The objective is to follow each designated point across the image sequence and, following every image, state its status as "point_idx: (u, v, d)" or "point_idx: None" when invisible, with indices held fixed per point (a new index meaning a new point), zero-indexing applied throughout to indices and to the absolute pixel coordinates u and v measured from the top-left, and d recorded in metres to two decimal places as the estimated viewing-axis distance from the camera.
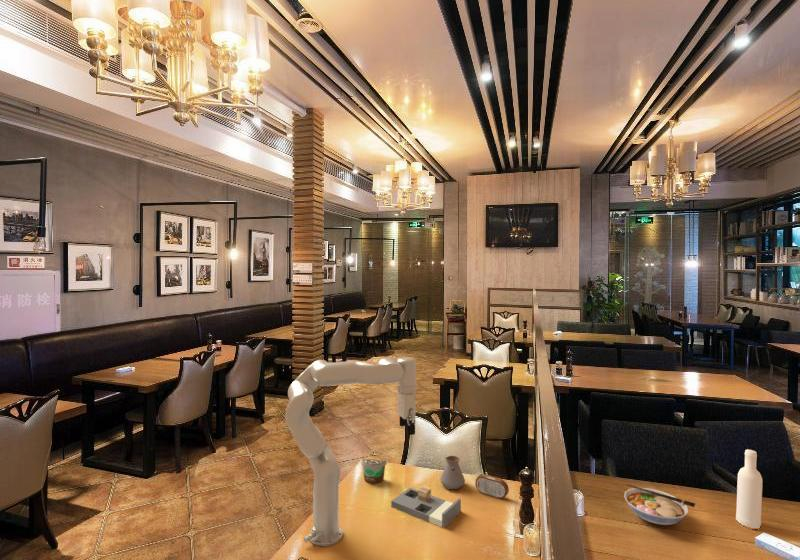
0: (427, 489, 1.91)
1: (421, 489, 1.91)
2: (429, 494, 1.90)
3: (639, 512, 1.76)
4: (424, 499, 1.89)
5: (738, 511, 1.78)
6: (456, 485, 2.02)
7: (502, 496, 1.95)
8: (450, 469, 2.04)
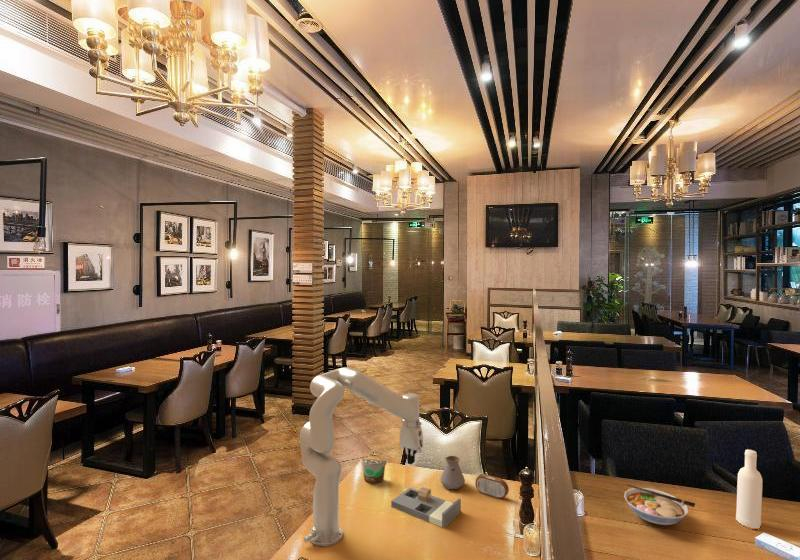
0: (427, 489, 1.91)
1: (421, 489, 1.91)
2: (429, 494, 1.90)
3: (639, 512, 1.76)
4: (424, 499, 1.89)
5: (738, 511, 1.78)
6: (456, 485, 2.02)
7: (502, 496, 1.95)
8: (450, 469, 2.04)
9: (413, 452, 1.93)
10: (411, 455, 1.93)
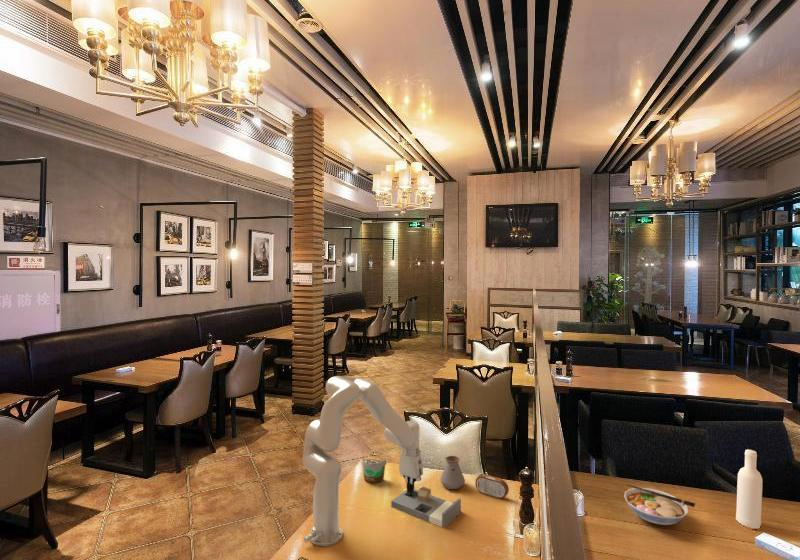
0: (427, 489, 1.91)
1: (421, 489, 1.91)
2: (429, 494, 1.90)
3: (639, 512, 1.76)
4: (424, 499, 1.89)
5: (738, 511, 1.78)
6: (456, 485, 2.02)
7: (502, 496, 1.95)
8: (450, 469, 2.04)
9: (413, 480, 1.93)
10: (410, 483, 1.94)
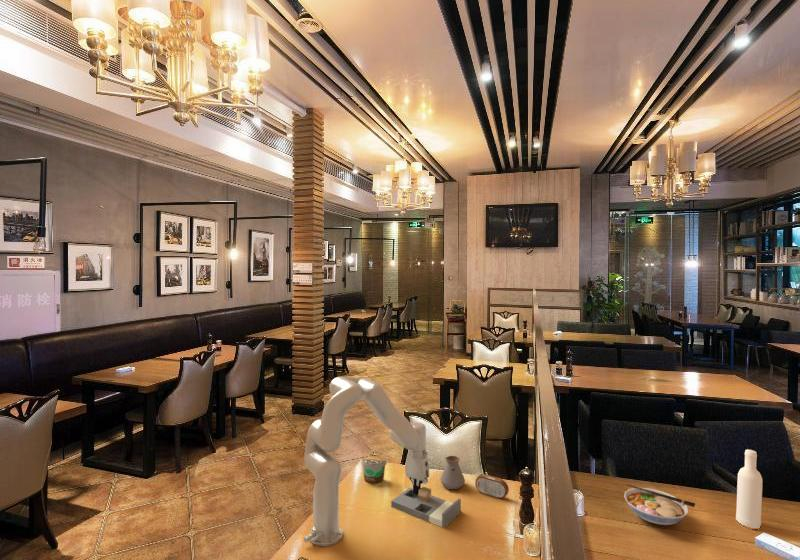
0: (427, 489, 1.91)
1: (421, 489, 1.91)
2: (429, 494, 1.90)
3: (639, 512, 1.76)
4: (424, 499, 1.89)
5: (738, 511, 1.78)
6: (456, 485, 2.02)
7: (502, 496, 1.95)
8: (450, 469, 2.04)
9: (419, 482, 1.91)
10: (417, 485, 1.92)
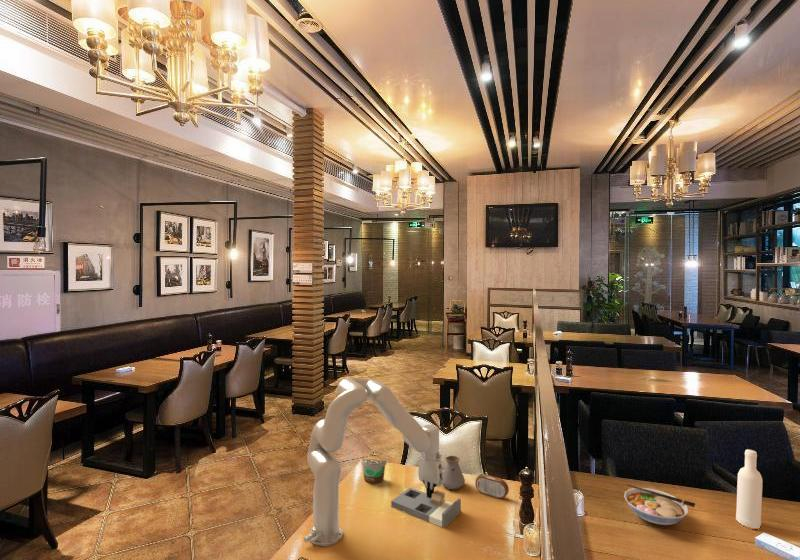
0: (441, 493, 1.87)
1: (435, 493, 1.87)
2: (443, 498, 1.87)
3: (639, 512, 1.76)
4: (438, 503, 1.85)
5: (738, 511, 1.78)
6: (456, 485, 2.02)
7: (502, 496, 1.95)
8: (450, 469, 2.04)
9: (433, 486, 1.88)
10: (430, 489, 1.88)
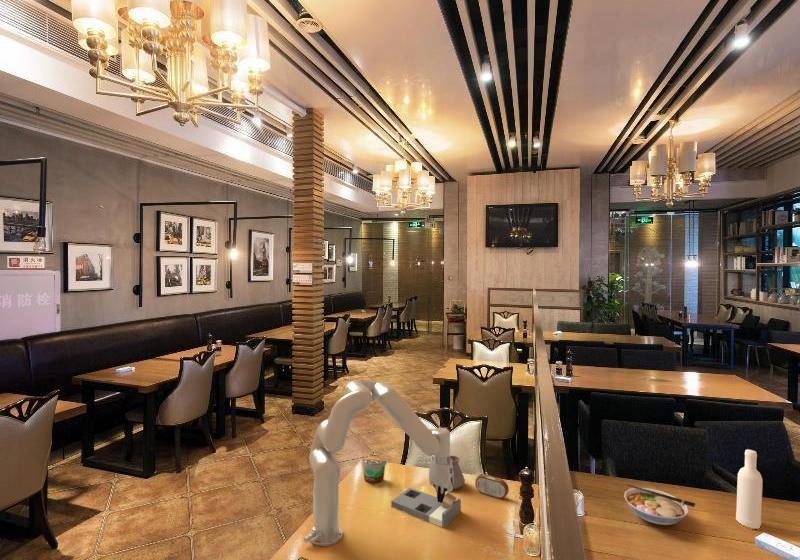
0: (453, 497, 1.84)
1: (447, 496, 1.84)
2: None
3: (639, 512, 1.76)
4: (449, 506, 1.83)
5: (738, 511, 1.78)
6: (456, 485, 2.02)
7: (502, 496, 1.95)
8: None
9: (443, 490, 1.84)
10: (441, 493, 1.85)
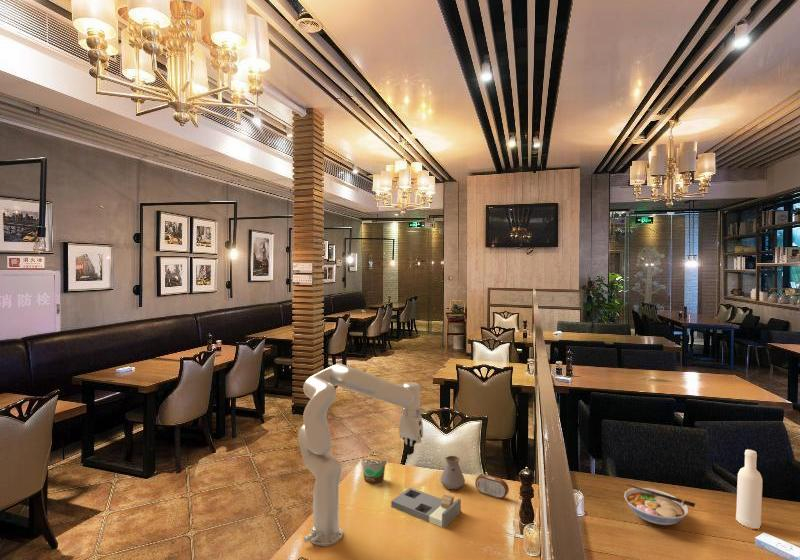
0: (450, 496, 1.85)
1: (444, 496, 1.85)
2: (452, 501, 1.85)
3: (639, 512, 1.76)
4: (448, 507, 1.83)
5: (738, 511, 1.78)
6: (456, 485, 2.02)
7: (502, 496, 1.95)
8: (450, 469, 2.04)
9: (412, 442, 1.89)
10: (410, 445, 1.90)
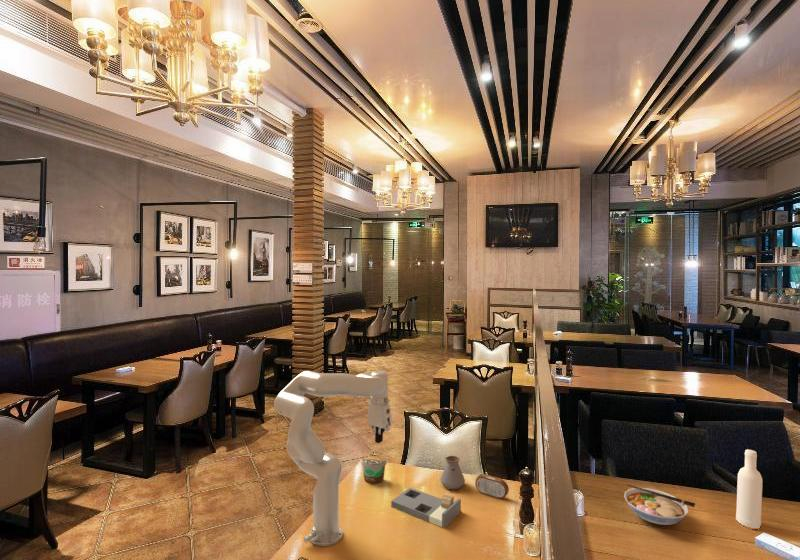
0: (450, 496, 1.85)
1: (444, 496, 1.85)
2: (452, 501, 1.85)
3: (639, 512, 1.76)
4: (448, 507, 1.83)
5: (738, 511, 1.78)
6: (456, 485, 2.02)
7: (502, 496, 1.95)
8: (450, 469, 2.04)
9: (381, 430, 1.88)
10: (379, 433, 1.89)
